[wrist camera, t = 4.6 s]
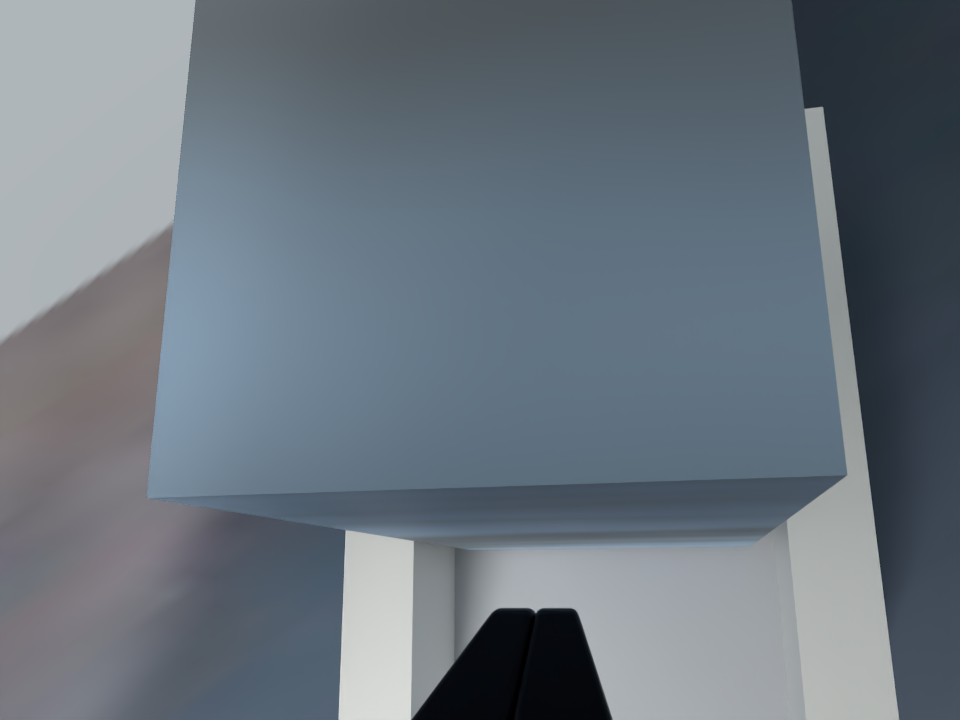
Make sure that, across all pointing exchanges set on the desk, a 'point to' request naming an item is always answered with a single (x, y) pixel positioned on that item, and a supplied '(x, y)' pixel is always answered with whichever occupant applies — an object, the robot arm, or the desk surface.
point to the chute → (659, 593)
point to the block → (498, 273)
